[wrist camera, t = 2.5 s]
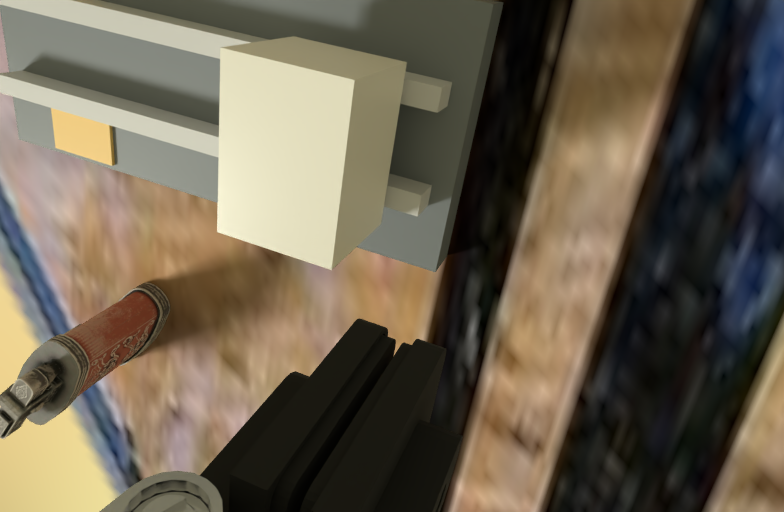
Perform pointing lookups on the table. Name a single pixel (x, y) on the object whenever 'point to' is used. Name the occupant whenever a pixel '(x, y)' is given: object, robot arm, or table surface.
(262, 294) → the table surface
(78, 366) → the lighter
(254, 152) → the fader knob
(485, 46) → the fader board
